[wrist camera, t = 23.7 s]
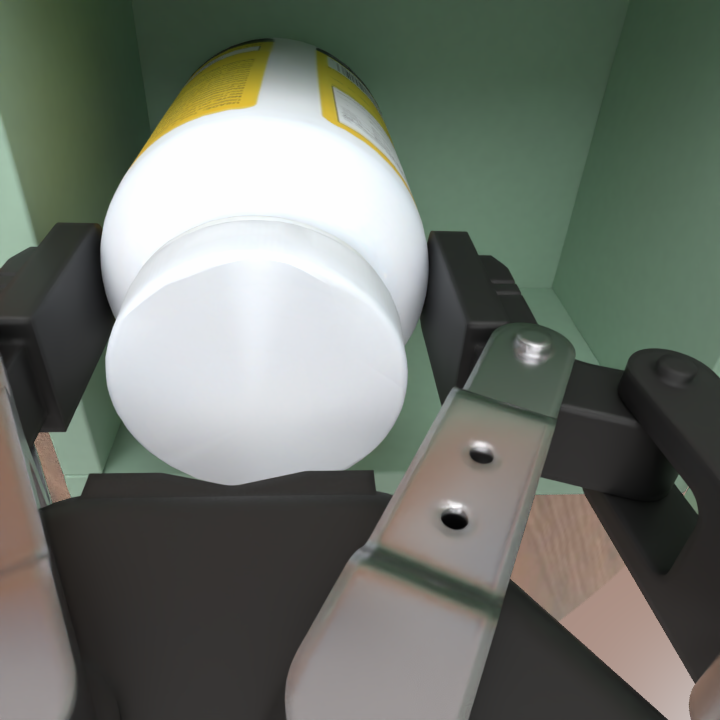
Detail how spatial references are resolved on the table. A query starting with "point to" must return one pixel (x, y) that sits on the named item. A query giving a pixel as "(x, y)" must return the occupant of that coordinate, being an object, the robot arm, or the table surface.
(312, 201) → the pill bottle
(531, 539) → the table surface
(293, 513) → the robot arm
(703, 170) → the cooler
